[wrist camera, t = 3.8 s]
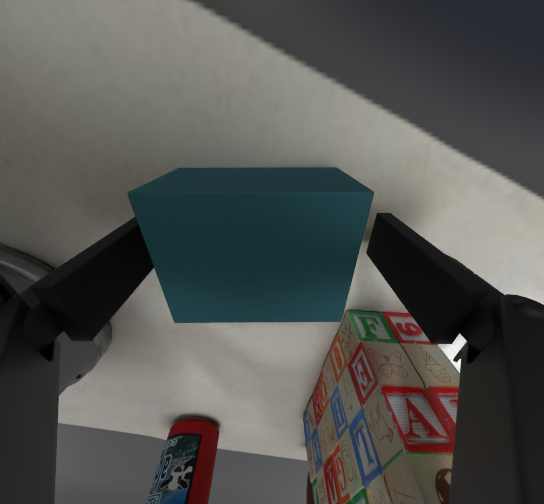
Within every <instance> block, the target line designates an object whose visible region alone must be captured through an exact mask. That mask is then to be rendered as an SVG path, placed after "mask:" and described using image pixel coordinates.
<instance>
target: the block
mask: <svg viewBox="0 0 544 504" xmlns="http://www.w3.org/2000/svg"><path fill="white" fill-rule="evenodd" d="M127 194H128V197H129V200H130V202H131V205H132V208H133V211H134V213H135V216H136V219H137V222H138V224H139V227H140V230H141V232H142V235H143V238H144V241H145V243H146V246H147V249H148V252H149V254H150V257H151V260H152V262H153V265H154V268H155V271H156V273H157V276H158V279H159V282H160V284H161V287H162V290H163V293H164V295H165V298H166V301H167V303H168V306H169V309H170V312H171V314H172V317H173V320H174V322H175V323H211V322H341V320H342V317H343V313H344V309H345V305H346V301H347V297H348V293H349V289H350V285H351V281H352V277H353V274H354V270H355V266H356V262H357V258H358V254H359V250H360V246H361V242H362V238H363V234H364V231H365V227H366V223H367V219H368V215H369V211H370V207H371V203H372V199H373V195H374V192H373V191H372V190H370V189H369V188H367V187H366V186H364V185H363V184H361V183H360V182H358V181H357V180H355V179H353V178H352V177H350V176H349V175H347V174H346V173H344V172H343V171H341V170H340V169H338V168H178V169H176V170H174V171H172V172H170V173H168V174H165V175H163V176H161V177H159V178H157V179H155V180H153V181H151V182H149V183H147V184H145V185H143V186H140V187H138V188H136V189H134V190H132V191H130V192H128V193H127Z"/></svg>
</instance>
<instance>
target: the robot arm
mask: <svg viewBox="0 0 544 504" xmlns="http://www.w3.org/2000/svg"><path fill="white" fill-rule="evenodd" d="M366 253H367V255H368V256H369V258H370V259H371V260H372V262H373V263H374V265H375V266H376V267H377V269H378V270H379V272H380V273H381V274H382V276H383V277H384V278H385V280H386V281H387V283H388V284H389V285H390V287H391V288H392V290H393V291H394V292H395V294H396V295H397V296H398V298H399V299H400V301H401V302H402V303H403V305H404V306H405V308H406V309H407V310H408V312H409V313H410V314H411V316H412V317H413V319H414V320H415V321H416V323H417V324H418V326H419V327H420V328H421V330H422V331H423V332H424V334H425V335H426V337H427V338H428V339H429V341H430V342H431V344H452V343H453V342H454V340H455V339H456V337H457V336H458V335H459V333H460V334H461V335H462V336H463V337H464V338H465V339H466V341H467V342H466V343H465V344H464V346H463V347H462V348H461V350H460V351H459V352H458V354H457V355H456V356H455V358H454V359H453V361H455V362H457V361H458V360H459V359H461V369H460V380H459V392H458V403H457V415H456V426H455V437H454V449H453V460H452V471H451V483H450V494H449V504H544V305H543V304H541V303H539V302H537V301H534V300H531V299H529V298H526V297H522V296H518V295H510V294H507V295H504V294H502V293H501V292H500V291H498V290H497V289H496V288H494V287H493V286H491V285H490V284H489V283H487V282H486V281H485V280H483V279H482V278H481V277H479V276H478V275H476V274H474V272H472V271H471V270H470V269H468V268H466V266H464V265H463V264H462V263H460V262H459V261H457V260H456V259H454V258H452V257H450V256H448V255H446V254H444V253H443V252H441V251H440V250H439V249H437V248H436V247H435V246H433V245H432V244H431V243H429V242H428V241H427V240H425V239H424V238H423V237H421V236H420V235H419V234H417V233H416V232H415V231H413V230H412V229H411V228H409V227H408V226H407V225H405V224H404V223H403V222H402V221H400V220H399V219H398V218H396V217H395V216H394V215H392V214H391V213H377V215H376V219H375V223H374V226H373V230H372V233H371V237H370V241H369V244H368V248H367V252H366ZM153 268H154V265H153V262H152V260H151V257H150V254H149V252H148V249H147V246H146V243H145V241H144V238H143V235H142V232H141V230H140V227H139V224H138V222H137V219H136V217H134V218H133V219H131V220H130V221H128V222H127V223H125V224H124V225H122V226H120V227H119V228H117V229H116V230H114V231H113V232H111V233H110V234H108V235H107V236H105V237H104V238H102V239H101V240H99V241H98V242H96V243H95V244H93V245H92V246H90V247H88V248H87V249H85V250H84V251H82V252H81V253H79V254H78V255H76V256H75V257H73V258H72V259H70V260H69V261H67V262H66V263H64V264H63V265H61V266H60V267H58V268H56V269H53V268H51V267H49V266H48V265H46V264H44V263H42V262H40V261H38V260H36V259H34V258H32V257H30V256H28V255H26V254H24V253H21V252H19V251H16V250H14V249H11V248H9V247H6V246H3V245H0V504H54V497H55V474H56V449H57V425H58V401H59V395H60V394H61V393H62V392H63V391H64V390H65V389H66V388H67V387H68V386H70V385H72V384H74V383H76V382H78V381H79V380H80V379H81V378H83V377H84V376H85V375H86V374H87V373H89V372H90V371H91V370H92V369H93V368H94V366H95V365H96V364H97V362H98V361H99V360H100V358H101V357H102V355H103V354H104V353H105V351H106V350H107V348H108V346H109V344H110V341H111V331H110V326H109V324H108V321H109V320H110V319H111V318H112V317H113V315H114V314H115V313H116V312H117V311H118V309H119V308H120V307H121V306H122V305H123V304H124V302H125V301H126V300H127V299H128V298H129V296H130V295H131V294H132V293H133V292H134V291H135V289H136V288H137V287H138V286H139V285H140V283H141V282H142V281H143V280H144V279H145V278H146V276H147V275H148V274H149V273H150V272H151V270H152V269H153Z"/></svg>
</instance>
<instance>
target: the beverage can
mask: <svg viewBox="0 0 544 504" xmlns="http://www.w3.org/2000/svg"><path fill="white" fill-rule="evenodd" d="M218 438H219V430H218V428H217V427H216V426H215V425H214V424H213V422H211V421H210V420H208V419H205V418H200V417H188V418H184V419H182V420H181V421H179V422H177V423H175V424H174V425H173V426H172V427H171V429H170V432H169V435H168V438H167V440H166V443H165V446H164V449H163V453H162V455H161V458H160V461H159V464H158V467H157V470H156V473H155V476H154V479H153V482H152V486H151V488H150V492H149V495H148V498H147V501H146V504H208V500H209V494H210V488H211V482H212V476H213V469H214V463H215V457H216V451H217V444H218Z"/></svg>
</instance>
